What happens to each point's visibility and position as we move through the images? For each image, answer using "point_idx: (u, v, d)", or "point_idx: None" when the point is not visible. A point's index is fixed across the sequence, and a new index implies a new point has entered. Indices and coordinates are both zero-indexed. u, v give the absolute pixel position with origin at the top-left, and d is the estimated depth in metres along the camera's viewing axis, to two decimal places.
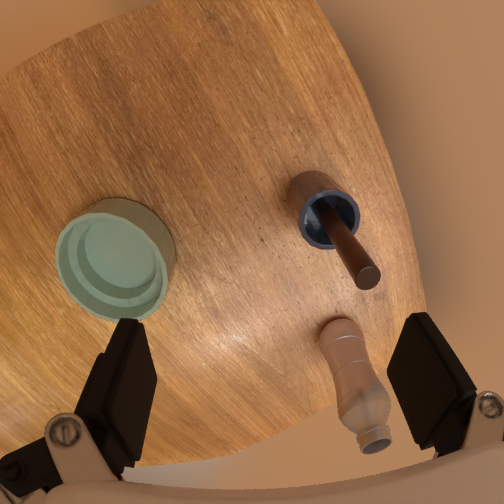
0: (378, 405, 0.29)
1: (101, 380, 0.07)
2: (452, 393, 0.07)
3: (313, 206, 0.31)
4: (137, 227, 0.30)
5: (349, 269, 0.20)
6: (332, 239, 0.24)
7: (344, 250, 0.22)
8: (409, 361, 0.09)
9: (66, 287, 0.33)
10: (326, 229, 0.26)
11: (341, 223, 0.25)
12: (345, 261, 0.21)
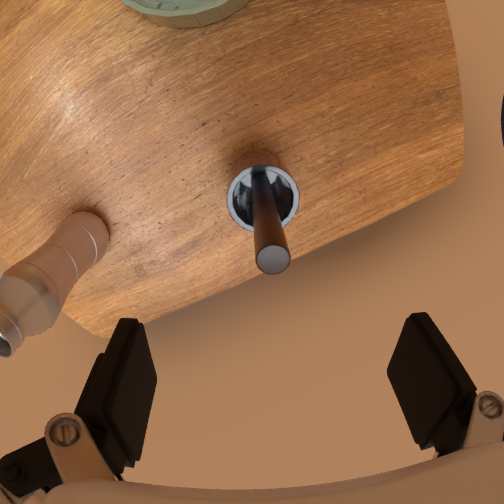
0: (42, 318, 0.20)
1: (101, 380, 0.07)
2: (452, 393, 0.07)
3: (263, 179, 0.28)
4: None
5: (271, 233, 0.17)
6: (266, 205, 0.21)
7: (277, 223, 0.19)
8: (409, 361, 0.09)
9: None
10: (265, 197, 0.23)
11: None
12: (270, 226, 0.18)
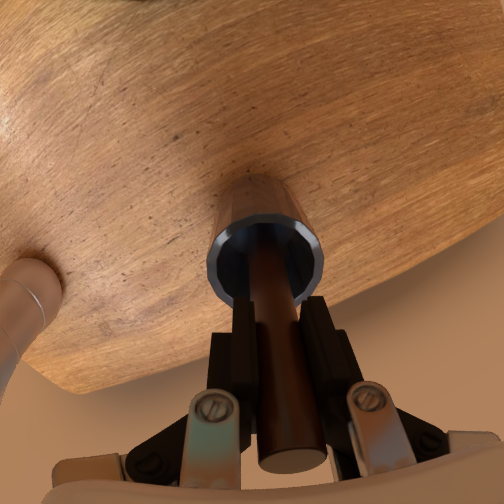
0: None
1: (240, 353, 0.08)
2: (324, 378, 0.08)
3: (266, 226, 0.18)
4: None
5: (289, 405, 0.07)
6: (276, 303, 0.12)
7: (299, 360, 0.09)
8: None
9: None
10: (272, 275, 0.13)
11: None
12: (287, 377, 0.08)
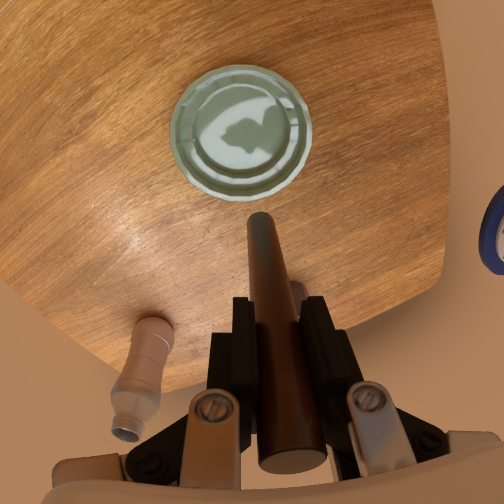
0: (153, 414, 0.33)
1: (240, 352, 0.08)
2: (324, 378, 0.08)
3: (266, 226, 0.18)
4: (292, 178, 0.32)
5: (289, 406, 0.07)
6: (276, 304, 0.12)
7: (299, 361, 0.09)
8: None
9: (219, 71, 0.27)
10: (272, 276, 0.13)
11: None
12: (287, 378, 0.08)
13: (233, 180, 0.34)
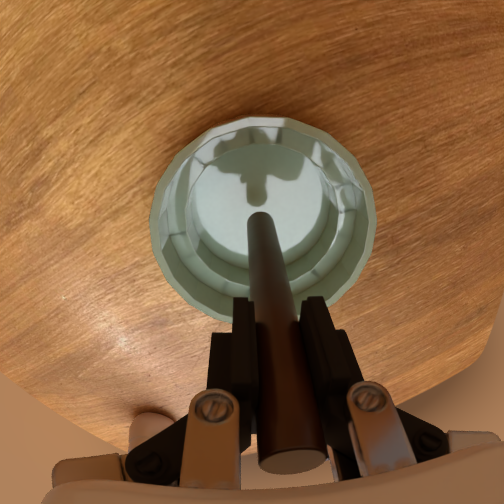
0: None
1: (240, 352, 0.08)
2: (324, 378, 0.08)
3: (266, 226, 0.18)
4: (339, 296, 0.21)
5: (289, 406, 0.07)
6: (276, 303, 0.12)
7: (299, 361, 0.09)
8: None
9: (228, 129, 0.16)
10: (272, 276, 0.13)
11: None
12: (287, 378, 0.08)
13: None
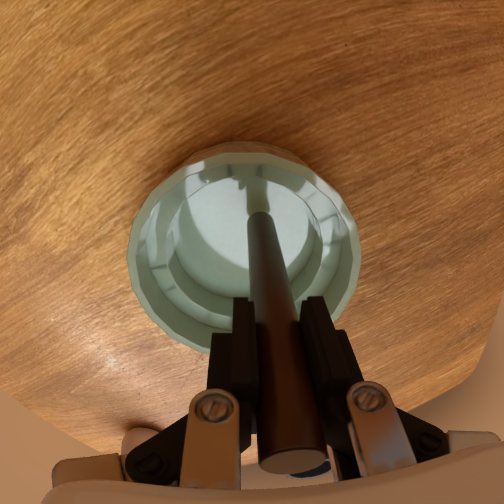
0: None
1: (240, 353, 0.08)
2: (324, 378, 0.08)
3: (266, 226, 0.18)
4: None
5: (289, 406, 0.07)
6: (276, 303, 0.12)
7: (299, 361, 0.09)
8: None
9: (202, 166, 0.16)
10: (272, 276, 0.13)
11: None
12: (287, 378, 0.08)
13: None
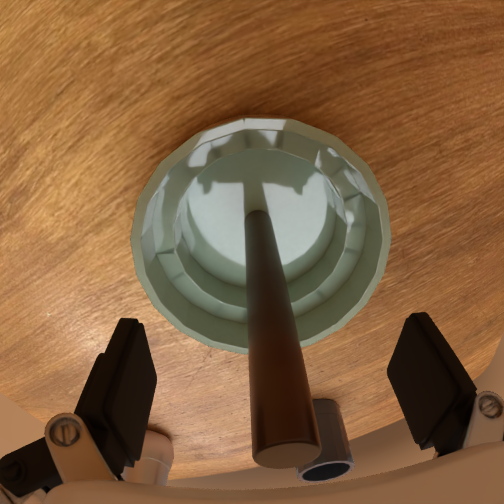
0: None
1: (101, 380, 0.07)
2: (452, 393, 0.07)
3: (263, 224, 0.18)
4: (347, 321, 0.19)
5: (283, 400, 0.08)
6: (272, 300, 0.12)
7: (293, 356, 0.09)
8: (409, 361, 0.09)
9: (220, 133, 0.14)
10: (268, 273, 0.13)
11: None
12: (282, 372, 0.08)
13: None
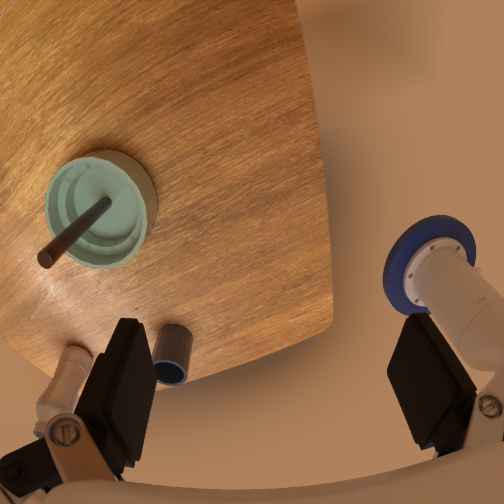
0: None
1: (101, 380, 0.07)
2: (452, 393, 0.07)
3: (98, 202, 0.35)
4: (137, 250, 0.36)
5: (48, 245, 0.25)
6: (70, 225, 0.29)
7: (61, 238, 0.26)
8: (409, 361, 0.09)
9: (68, 165, 0.31)
10: (78, 218, 0.31)
11: (83, 229, 0.30)
12: (53, 240, 0.26)
13: (101, 248, 0.38)
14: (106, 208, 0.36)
